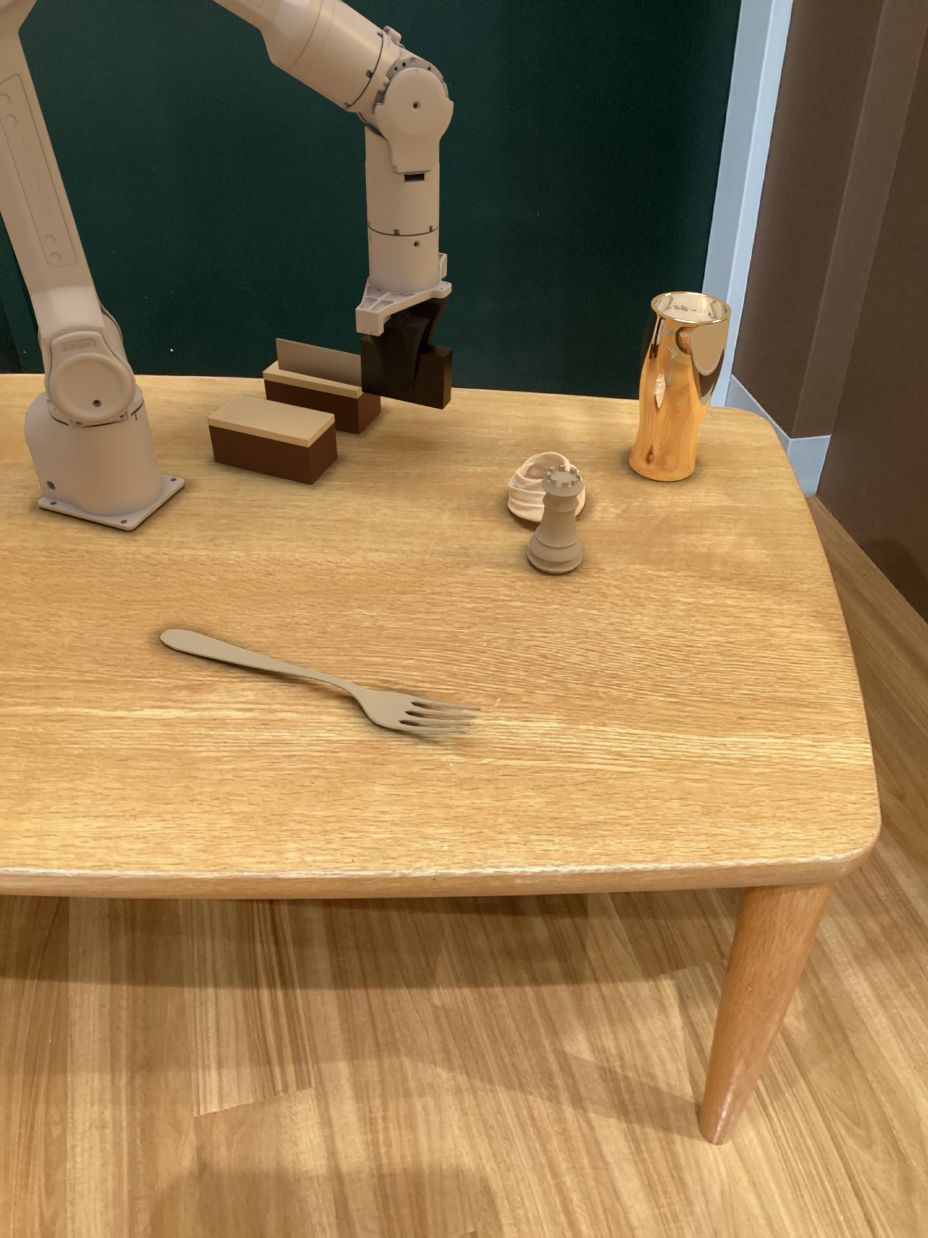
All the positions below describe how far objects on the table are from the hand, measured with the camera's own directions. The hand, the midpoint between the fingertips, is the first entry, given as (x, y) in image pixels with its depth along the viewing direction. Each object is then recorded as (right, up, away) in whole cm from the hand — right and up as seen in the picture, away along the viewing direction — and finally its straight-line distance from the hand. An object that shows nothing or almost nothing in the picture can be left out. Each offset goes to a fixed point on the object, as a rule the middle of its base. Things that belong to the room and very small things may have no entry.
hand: (405, 381), depth 83 cm
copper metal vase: (+24, -7, +3) cm, 25 cm away
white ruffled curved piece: (+12, -12, -3) cm, 17 cm away
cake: (-12, -7, +2) cm, 14 cm away
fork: (-5, -26, -20) cm, 33 cm away
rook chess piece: (+12, -17, -9) cm, 22 cm away
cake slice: (-9, -1, +9) cm, 12 cm away
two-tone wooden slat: (-4, 0, +2) cm, 5 cm away
